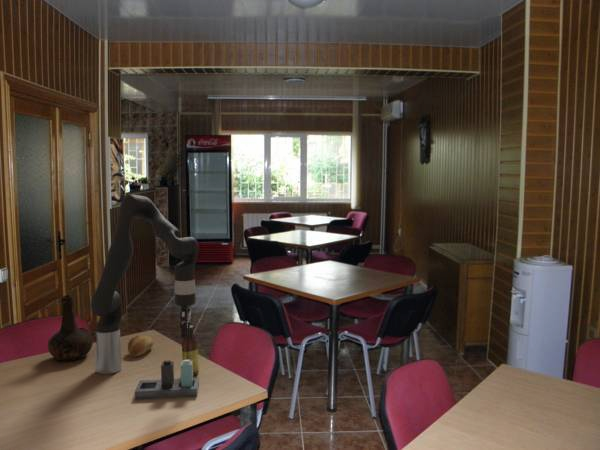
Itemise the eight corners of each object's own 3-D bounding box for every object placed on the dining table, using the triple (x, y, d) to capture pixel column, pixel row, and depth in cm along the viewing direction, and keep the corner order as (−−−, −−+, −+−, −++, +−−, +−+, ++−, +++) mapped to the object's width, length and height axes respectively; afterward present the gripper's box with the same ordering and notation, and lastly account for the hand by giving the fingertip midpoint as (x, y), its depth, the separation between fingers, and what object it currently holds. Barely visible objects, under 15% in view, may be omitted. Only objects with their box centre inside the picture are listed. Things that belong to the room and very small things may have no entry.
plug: (181, 394, 187) (180, 362, 185) (182, 389, 190) (181, 358, 189) (192, 393, 187) (191, 362, 186) (193, 388, 191) (192, 358, 190)
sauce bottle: (200, 371, 208) (199, 324, 206) (196, 377, 202) (195, 329, 200) (185, 370, 209) (184, 323, 207) (180, 376, 202) (179, 328, 201)
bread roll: (122, 358, 223) (121, 340, 223) (137, 347, 238) (137, 330, 237) (142, 359, 222) (142, 341, 221) (157, 348, 237) (156, 331, 236)
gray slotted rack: (134, 399, 182) (133, 367, 181) (140, 388, 192) (139, 357, 190) (196, 396, 184) (196, 364, 183) (199, 385, 194) (198, 355, 193)
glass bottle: (101, 355, 227) (99, 294, 224) (64, 368, 212) (61, 302, 209) (77, 348, 236) (74, 289, 233) (40, 360, 221) (37, 297, 218)
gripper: (193, 295, 179) (194, 340, 180) (197, 287, 193) (197, 328, 194) (171, 296, 178) (172, 341, 179) (176, 287, 192) (177, 329, 193)
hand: (185, 334), depth 187 cm, fingers open, 8 cm apart
